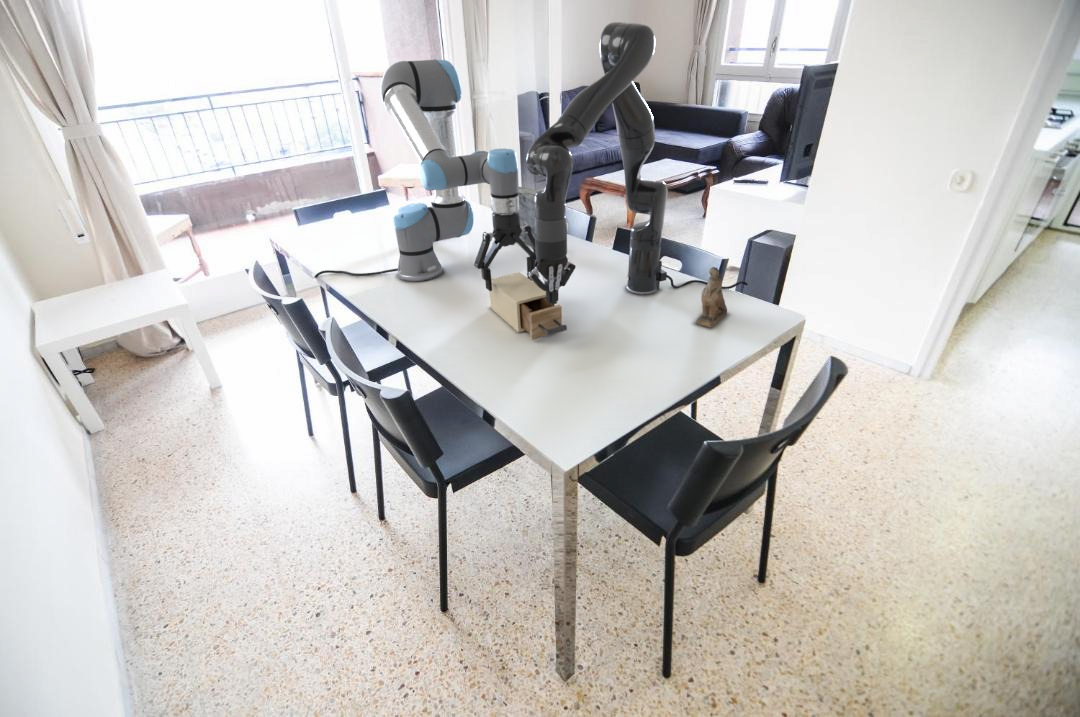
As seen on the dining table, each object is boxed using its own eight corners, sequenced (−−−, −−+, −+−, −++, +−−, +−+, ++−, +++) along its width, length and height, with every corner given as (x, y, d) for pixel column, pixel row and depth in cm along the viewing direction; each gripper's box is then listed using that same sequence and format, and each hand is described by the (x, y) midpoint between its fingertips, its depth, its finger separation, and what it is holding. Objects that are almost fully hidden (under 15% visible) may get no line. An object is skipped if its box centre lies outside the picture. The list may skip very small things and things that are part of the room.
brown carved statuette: (709, 335, 136) (713, 280, 124) (691, 329, 139) (693, 274, 128) (730, 313, 142) (736, 258, 130) (712, 307, 145) (716, 253, 133)
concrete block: (560, 248, 193) (559, 196, 183) (541, 254, 189) (540, 200, 178) (521, 233, 212) (519, 184, 201) (504, 237, 207) (500, 188, 197)
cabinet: (550, 323, 141) (550, 293, 136) (518, 332, 136) (516, 302, 132) (521, 300, 154) (519, 272, 150) (490, 308, 150) (488, 279, 145)
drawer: (572, 339, 130) (573, 314, 126) (542, 348, 127) (541, 323, 123) (531, 307, 148) (530, 284, 144) (504, 315, 144) (502, 291, 140)
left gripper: (468, 222, 126) (475, 298, 137) (552, 207, 136) (553, 279, 147) (457, 215, 132) (465, 289, 143) (539, 201, 142) (541, 271, 153)
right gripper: (533, 245, 110) (536, 315, 119) (583, 234, 116) (582, 302, 125) (518, 236, 116) (522, 304, 125) (566, 226, 121) (566, 292, 130)
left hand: (510, 284), depth 145 cm, fingers open, 13 cm apart
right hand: (552, 303), depth 125 cm, fingers closed
